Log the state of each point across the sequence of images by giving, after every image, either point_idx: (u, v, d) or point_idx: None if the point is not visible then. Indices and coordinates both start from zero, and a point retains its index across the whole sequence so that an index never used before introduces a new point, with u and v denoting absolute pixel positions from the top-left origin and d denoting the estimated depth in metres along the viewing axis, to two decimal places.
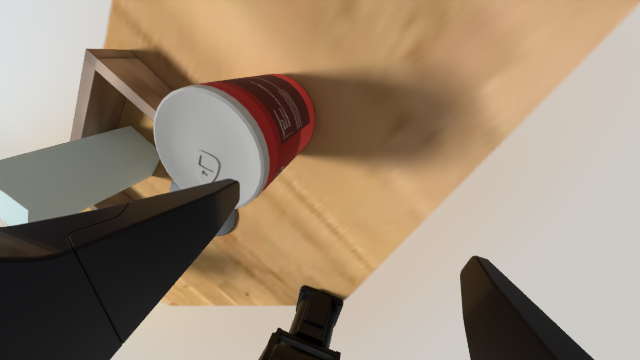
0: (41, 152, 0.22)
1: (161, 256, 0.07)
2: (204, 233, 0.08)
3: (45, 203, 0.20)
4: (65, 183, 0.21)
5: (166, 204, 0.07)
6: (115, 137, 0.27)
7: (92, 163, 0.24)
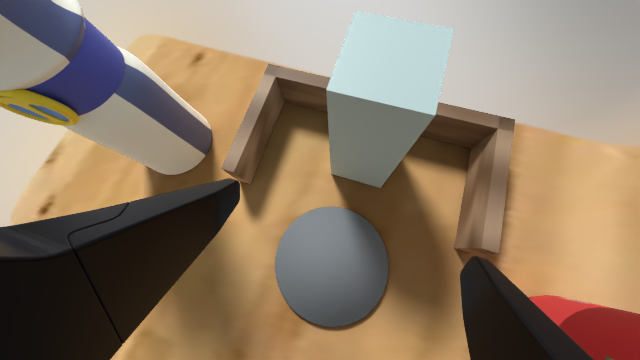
0: None
1: (161, 256, 0.07)
2: (204, 233, 0.08)
3: (425, 127, 0.11)
4: None
5: (166, 204, 0.07)
6: None
7: None
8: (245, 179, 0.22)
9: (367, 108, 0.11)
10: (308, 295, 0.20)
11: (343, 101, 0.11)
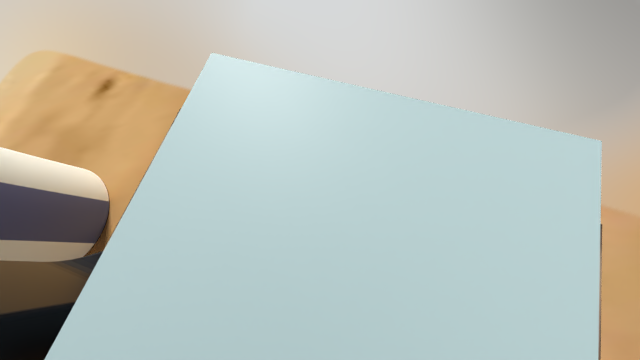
0: None
1: None
2: None
3: None
4: None
5: None
6: None
7: None
8: None
9: None
10: None
11: None
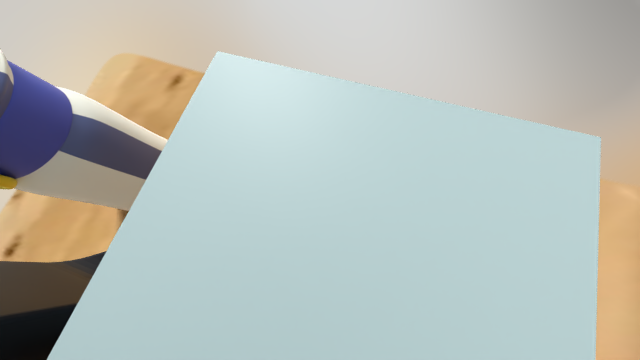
0: None
1: None
2: None
3: None
4: None
5: None
6: None
7: None
8: None
9: None
10: None
11: None
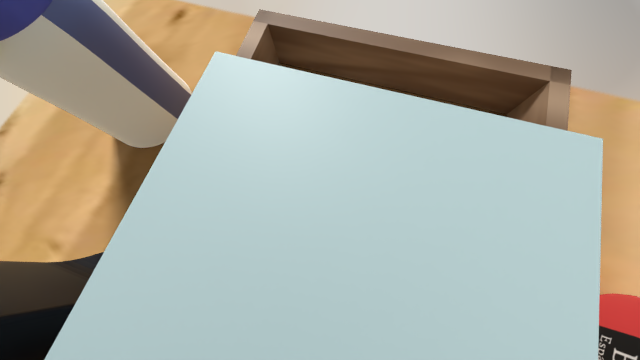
0: None
1: None
2: None
3: None
4: None
5: None
6: None
7: None
8: None
9: None
10: None
11: None
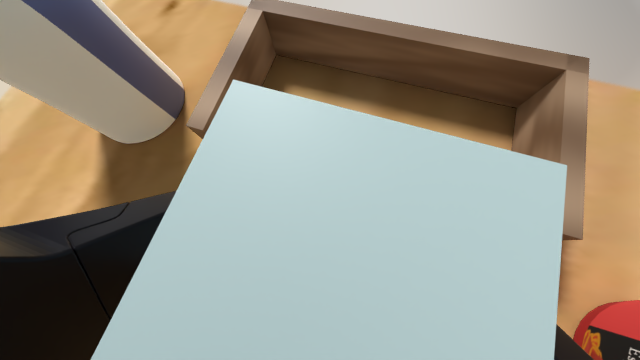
0: None
1: None
2: None
3: None
4: None
5: (166, 204, 0.07)
6: None
7: None
8: None
9: None
10: None
11: None
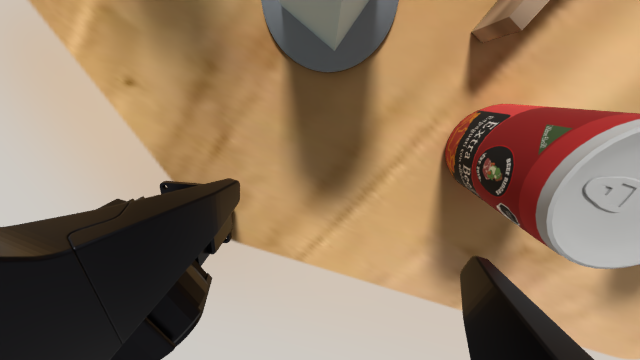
0: None
1: (161, 256, 0.07)
2: (204, 233, 0.08)
3: None
4: None
5: (166, 204, 0.07)
6: None
7: None
8: None
9: None
10: (293, 26, 0.18)
11: None
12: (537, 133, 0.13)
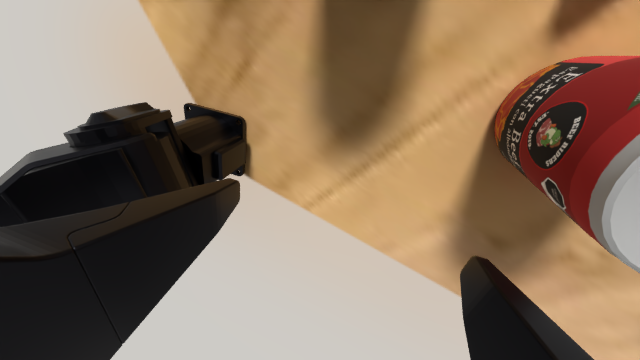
0: None
1: (161, 256, 0.07)
2: (204, 233, 0.08)
3: None
4: None
5: (166, 204, 0.07)
6: None
7: None
8: None
9: None
10: None
11: None
12: (637, 82, 0.09)
